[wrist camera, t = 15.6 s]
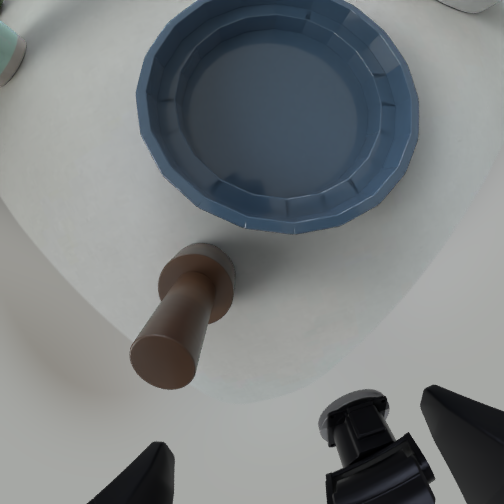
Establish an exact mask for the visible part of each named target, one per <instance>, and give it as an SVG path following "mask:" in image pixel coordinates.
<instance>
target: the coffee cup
mask: <svg viewBox="0 0 504 504" xmlns="http://www.w3.org/2000/svg"><path fill="white" fill-rule="evenodd" d="M25 50H26V41H25V40H24V39H23V38H22V37H20V36H19V35H18V34H17V33H16V32H14V31H13V30H12V29H11V28H9V27H8V26H7V25H6V24H4V23H3V22H2V21H0V87H2V86H3V85H5V84H6V83H7V82H8V81H9V80H10V78H11V77H12V76H13V75H14V73H15V72H16V70H17V69H18V67H19V65H20V63H21V61H22V59H23V57H24V54H25Z"/></svg>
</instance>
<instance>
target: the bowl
mask: <svg viewBox="0 0 504 504" xmlns="http://www.w3.org/2000/svg"><path fill="white" fill-rule="evenodd" d="M136 102H137V111H138V119H139V126H140V133H141V137H142V139H143V141H144V142H145V144H146V146H147V148H148V150H149V152H150V154H151V156H152V157H153V159H154V161H155V163H156V165H157V167H158V169H159V170H160V172H161V174H163V176H164V177H165V178H166V179H167V180H168V181H169V182H170V183H171V184H172V185H173V186H175V187H176V188H177V189H178V190H179V191H180V192H181V193H182V194H183V195H184V196H186V197H187V198H188V199H189V200H190V201H191V202H192V203H193V204H194V205H195V206H197V207H198V208H200V209H202V210H204V211H206V212H209V213H211V214H213V215H215V216H217V217H220V218H222V219H224V220H226V221H229V222H231V223H233V224H235V225H237V226H240V227H242V228H245V229H252V230H260V231H268V232H276V233H284V234H292V235H293V234H295V235H296V234H301V233H307V232H312V231H317V230H323V229H328V228H333V227H339V226H342V225H344V224H345V223H347V222H349V221H351V220H353V219H354V218H356V217H358V216H360V215H362V214H363V213H365V212H367V211H369V210H370V209H372V208H374V207H376V206H377V205H378V204H380V203H381V202H382V200H383V199H384V198H385V197H386V196H387V195H388V194H389V192H390V191H391V190H392V189H393V188H394V187H395V185H396V184H397V183H398V182H399V181H400V179H401V178H402V177H403V176H404V175H405V173H406V171H407V168H408V165H409V163H410V160H411V157H412V155H413V152H414V149H415V146H416V144H417V141H418V135H419V101H418V96H417V92H416V89H415V86H414V83H413V79H412V76H411V73H410V70H409V67H408V65H407V63H406V61H405V60H404V58H403V57H402V55H401V54H400V52H399V51H398V49H397V48H396V46H395V45H394V43H393V42H392V40H391V39H390V38H389V36H388V35H387V33H386V32H385V31H384V30H383V29H382V28H380V27H379V26H378V25H377V24H376V23H375V22H374V21H372V20H371V19H370V18H369V17H368V16H366V15H365V14H364V13H363V12H362V11H360V10H359V9H358V8H356V7H355V6H354V5H352V4H350V3H348V2H346V1H344V0H197V1H196V2H194V3H193V4H191V5H190V6H189V7H187V8H186V9H185V10H183V11H182V12H181V13H179V14H178V15H177V16H175V17H174V18H173V19H172V20H170V21H169V22H168V23H167V24H166V26H165V27H164V29H163V30H162V31H161V33H160V34H159V36H158V37H157V38H156V40H155V41H154V43H153V44H152V46H151V47H150V49H149V50H148V52H147V54H146V55H145V58H144V62H143V65H142V69H141V73H140V77H139V81H138V85H137V90H136Z"/></svg>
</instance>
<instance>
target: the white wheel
mask: <svg viewBox="0 0 504 504" xmlns="http://www.w3.org/2000/svg"><path fill="white" fill-rule="evenodd" d="M438 1H440V2H442V3H444V4H446V5H448V6H451V7H453V8H455V9H458V10H461V11H464V12H468V13H479V12H482V11H483V10H485V9H487V8H489V7H490V6H492V5H494V4H496V3H498V2H500V1H502V0H438Z"/></svg>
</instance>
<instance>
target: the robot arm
mask: <svg viewBox="0 0 504 504" xmlns="http://www.w3.org/2000/svg"><path fill="white" fill-rule="evenodd" d="M386 404H387V398H386V396H380V397H377V398H374V399H372V400H368V401H365V402H362V403H359V404H356V405H353V406H349V407H346V408H342V409H339V410H335V411H331V412H329V413H328V414H327V426H328V446H329V447H335V446H336V447H337V450H338V453H339V456H340V459H341V462H342V466H343V468H342V469H340V470H338V471H335V472H333V473H329V474H326V495H327V504H435V497H434V494H433V492H432V490H431V488H430V486H429V483H431V482H433V481H434V480H435V477H434V474H433V472H432V470H431V468H430V466H429V464H428V462H427V460H426V459H425V457H424V455H423V454H422V452H421V450H420V449H419V447H418V446H417V444H416V443H415V441H414V440H413V438H412V437H411V435H410V433H409V432H408V433H406V434H405V435H404V436H403V437H401V438H400V439H398V440H397V441H396V439H395V437H394V436H393V434H392V432H391V430H390V428H389V426H388V424H387V423H386V421H385V419H384V416H385V410H386ZM420 407H421V410H422V413H423V415H424V417H425V420H426V422H427V425H428V427H429V429H430V432H431V434H432V437H433V439H434V441H435V443H436V445H437V447H438V449H439V450H440V452H441V454H442V456H443V457H444V460H445V461H446V463H447V465H448V467H449V469H450V471H451V473H452V475H453V476H454V478H455V480H456V482H457V484H458V486H459V488H460V490H461V492H462V494H463V496H464V498H465V501H466V503H467V504H504V411H501V410H499V409H496V408H493V407H490V406H488V405H485V404H483V403H480V402H477V401H474V400H472V399H470V398H467V397H464V396H462V395H459V394H457V393H454V392H452V391H450V390H447V389H445V388H442V387H440V386H437V385H431V386H429V387H427V388H426V389H424V391H423V395H422V400H421V404H420ZM174 464H175V459H174V455H173V453H172V452H171V450H170V449H169V448H168V446H167V445H166V443H164V442H153V443H151V444H150V445H149V446H148V447H147V448H146V449H145V450H144V451H143V452H142V453H141V454H140V455H139V456H138V457H137V458H136V459H135V460H134V461H133V462H132V463H131V464H130V465H129V466H128V467H127V468H126V469H125V470H124V471H123V472H121V474H119V475H118V476H117V477H116V478H115V479H114V480H113V481H112V482H111V483H110V484H109V485H108V486H106V487H105V488H104V489H103V490H102V491H101V492H100V493H99V494H97V495H96V496H95V497H94V499H92V500H91V501H89V502H88V503H87V504H173V496H174Z"/></svg>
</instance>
